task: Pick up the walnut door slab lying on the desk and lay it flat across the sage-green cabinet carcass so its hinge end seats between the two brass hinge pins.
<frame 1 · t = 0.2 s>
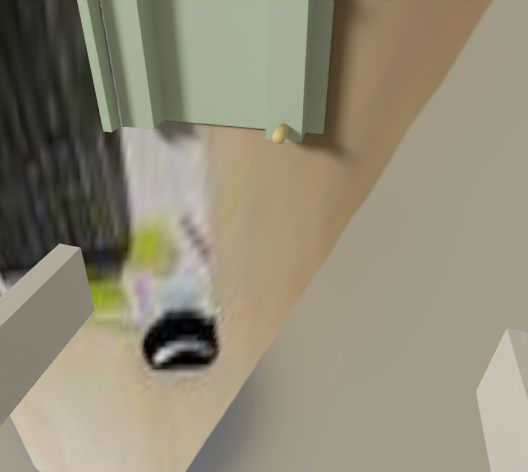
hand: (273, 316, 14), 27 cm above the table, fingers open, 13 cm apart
carcass: (215, 45, 37), on the table
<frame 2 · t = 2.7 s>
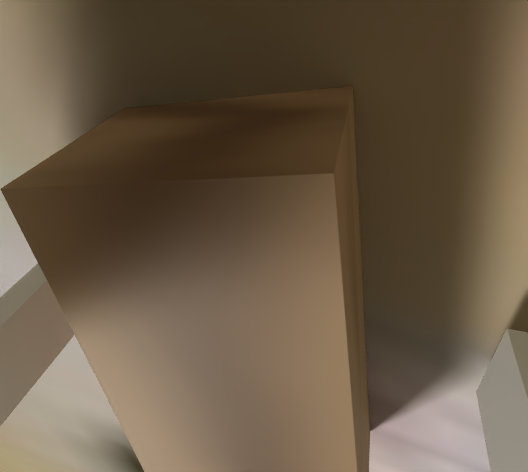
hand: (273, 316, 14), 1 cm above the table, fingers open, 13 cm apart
door: (270, 293, 15), on the table
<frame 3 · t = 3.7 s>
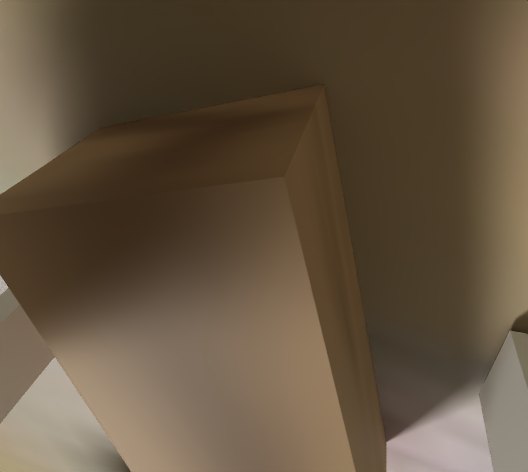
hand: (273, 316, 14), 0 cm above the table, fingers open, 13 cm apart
door: (267, 304, 14), on the table
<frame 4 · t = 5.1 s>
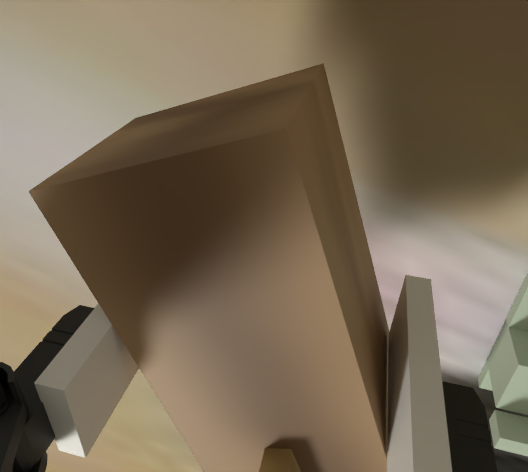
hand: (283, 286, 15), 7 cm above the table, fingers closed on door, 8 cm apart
door: (286, 274, 16), point 7 cm above the table, touching gripper
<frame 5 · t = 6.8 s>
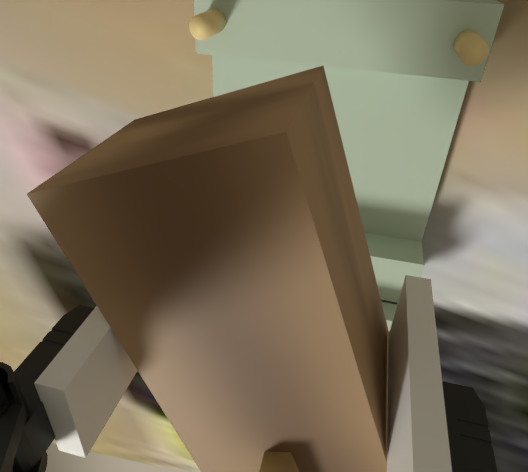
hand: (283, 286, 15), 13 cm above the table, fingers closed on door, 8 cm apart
door: (286, 276, 16), point 12 cm above the table, touching gripper
carcass: (325, 145, 26), on the table
when the fingers open (4 cm above the table, at t = 8.8 s): door stays where it is, resting on carcass.
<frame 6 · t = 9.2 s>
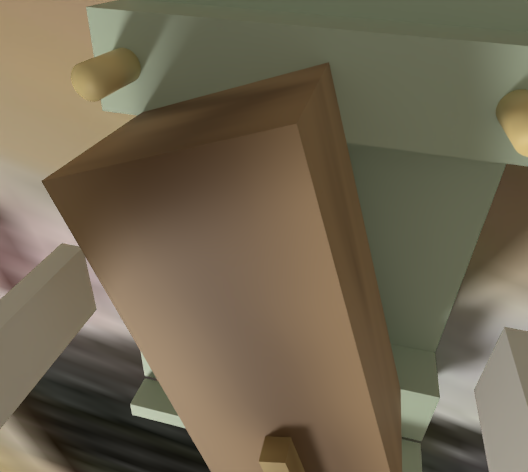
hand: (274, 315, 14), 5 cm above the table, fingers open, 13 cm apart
door: (287, 268, 16), point 3 cm above the table, touching carcass
carcass: (302, 226, 19), on the table
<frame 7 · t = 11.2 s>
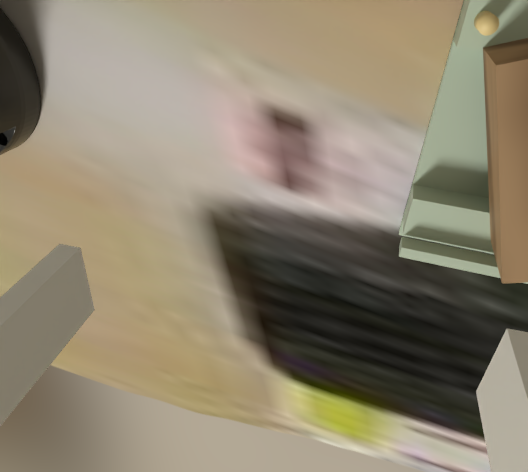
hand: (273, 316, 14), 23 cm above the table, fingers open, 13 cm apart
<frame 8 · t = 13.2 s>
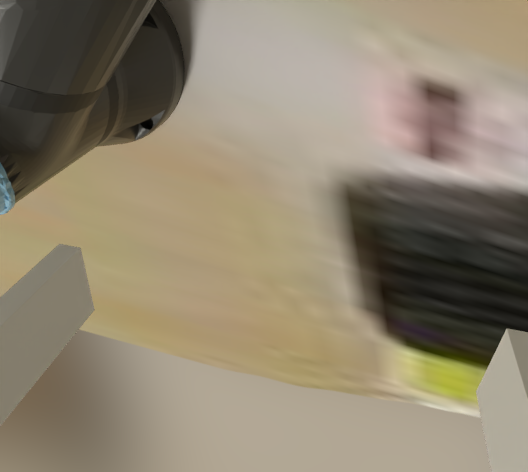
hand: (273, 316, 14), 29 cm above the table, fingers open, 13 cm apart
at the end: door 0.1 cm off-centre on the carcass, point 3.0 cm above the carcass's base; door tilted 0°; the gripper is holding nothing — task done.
